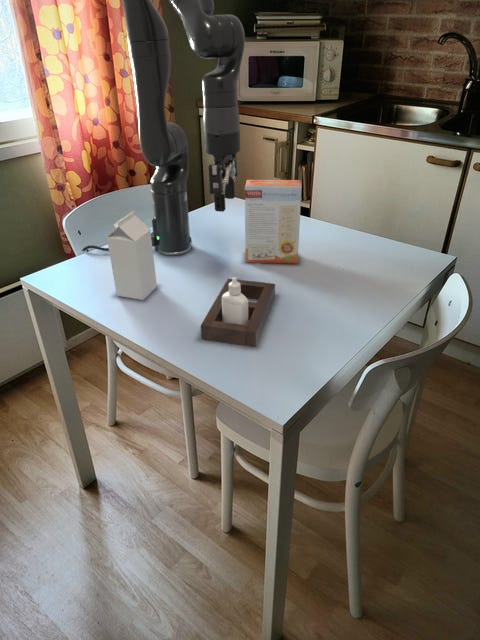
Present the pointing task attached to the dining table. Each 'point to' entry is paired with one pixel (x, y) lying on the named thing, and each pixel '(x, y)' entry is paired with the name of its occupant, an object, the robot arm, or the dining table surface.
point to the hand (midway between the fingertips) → (225, 204)
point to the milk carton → (132, 258)
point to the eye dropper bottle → (234, 305)
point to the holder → (256, 314)
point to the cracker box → (272, 220)
